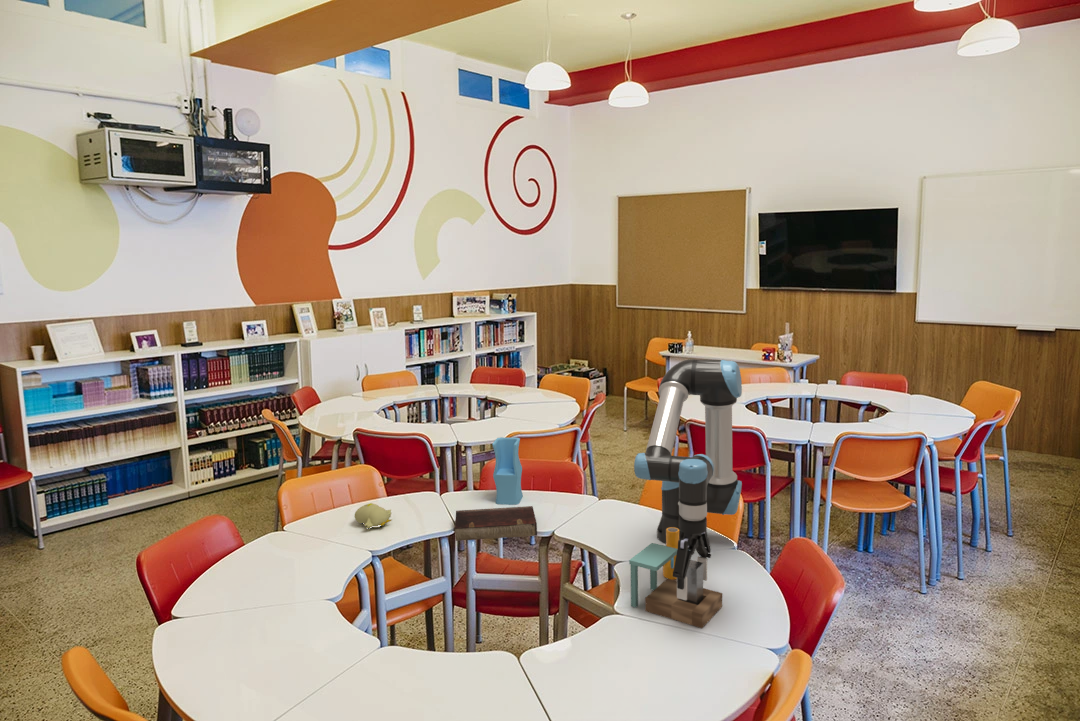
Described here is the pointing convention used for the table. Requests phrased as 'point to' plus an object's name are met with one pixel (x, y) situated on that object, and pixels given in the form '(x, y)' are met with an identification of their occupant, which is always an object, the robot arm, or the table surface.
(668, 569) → the cylinder
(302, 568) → the table surface
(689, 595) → the peg
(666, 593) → the socket block
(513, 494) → the blue high-backed chair
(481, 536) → the hardback book
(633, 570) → the teal miniature table
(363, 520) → the toy
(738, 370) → the robot arm
